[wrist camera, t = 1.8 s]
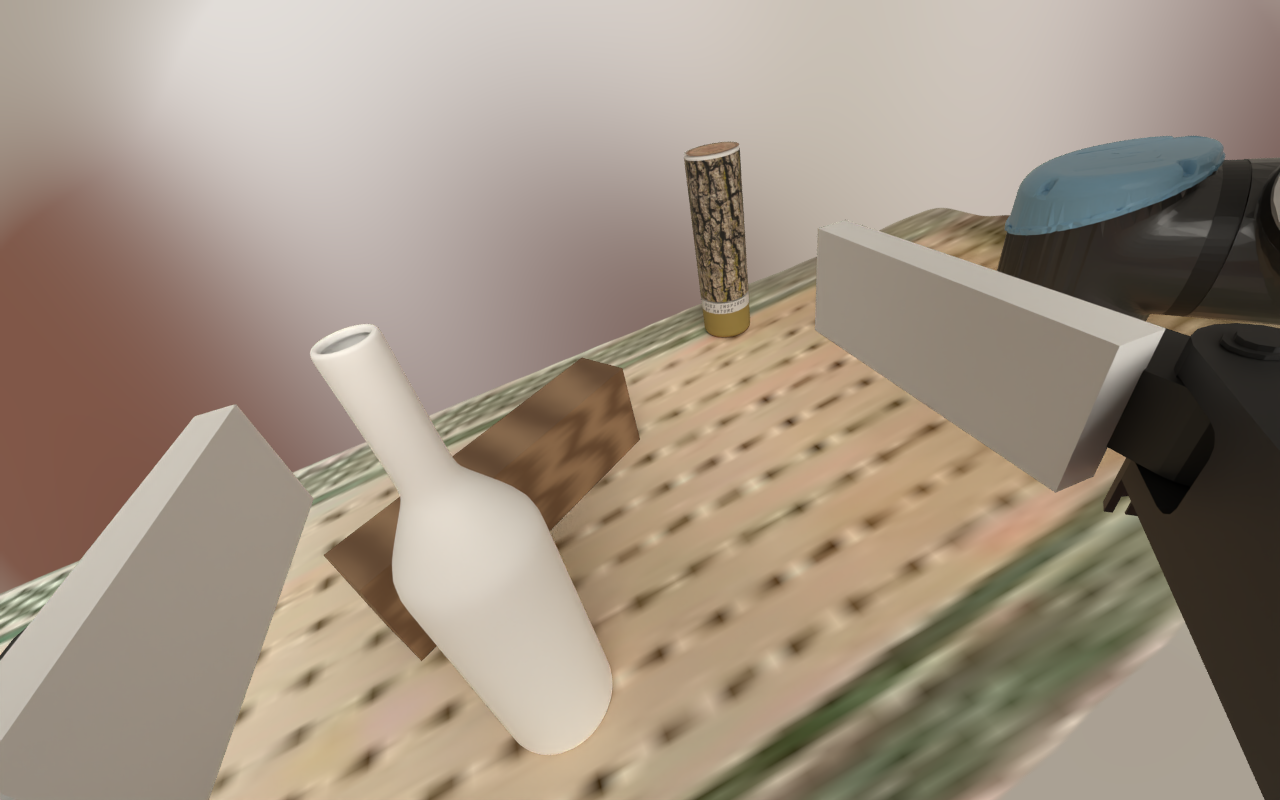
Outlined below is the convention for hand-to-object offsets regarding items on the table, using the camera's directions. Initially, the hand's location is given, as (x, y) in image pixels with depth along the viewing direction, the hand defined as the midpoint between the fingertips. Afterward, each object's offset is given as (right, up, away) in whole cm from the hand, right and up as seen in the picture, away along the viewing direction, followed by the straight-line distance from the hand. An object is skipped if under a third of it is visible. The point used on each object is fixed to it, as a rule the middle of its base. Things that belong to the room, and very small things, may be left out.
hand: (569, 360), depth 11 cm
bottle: (-4, -23, +25) cm, 34 cm away
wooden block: (-10, -13, +39) cm, 43 cm away
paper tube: (+15, +10, +64) cm, 66 cm away
